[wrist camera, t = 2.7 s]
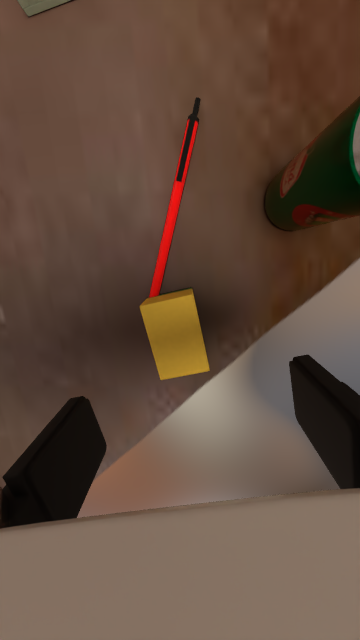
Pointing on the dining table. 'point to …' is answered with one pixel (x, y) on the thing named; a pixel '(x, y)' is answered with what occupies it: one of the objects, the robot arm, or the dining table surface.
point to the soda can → (320, 178)
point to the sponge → (175, 333)
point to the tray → (39, 5)
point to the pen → (175, 198)
